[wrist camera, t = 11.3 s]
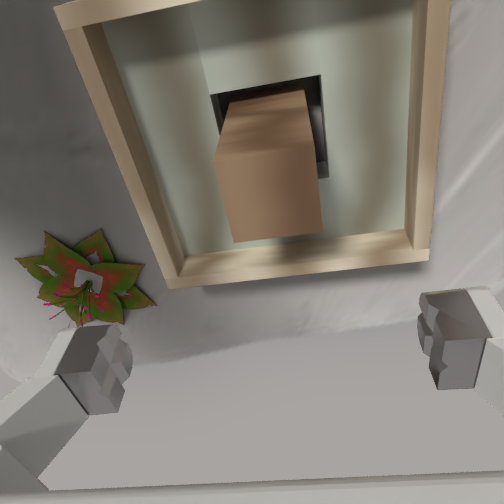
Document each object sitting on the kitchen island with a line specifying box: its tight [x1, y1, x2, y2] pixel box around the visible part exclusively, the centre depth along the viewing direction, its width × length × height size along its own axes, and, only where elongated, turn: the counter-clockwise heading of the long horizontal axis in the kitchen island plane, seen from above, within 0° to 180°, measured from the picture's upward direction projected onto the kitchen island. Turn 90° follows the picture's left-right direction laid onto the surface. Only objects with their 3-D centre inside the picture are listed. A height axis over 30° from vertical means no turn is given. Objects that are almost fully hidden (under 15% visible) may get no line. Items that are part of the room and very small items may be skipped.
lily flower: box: [14, 229, 157, 328], centre depth 35 cm, size 12×12×5 cm
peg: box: [213, 82, 323, 243], centre depth 23 cm, size 4×4×10 cm
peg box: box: [53, 0, 451, 290], centre depth 25 cm, size 18×18×5 cm
